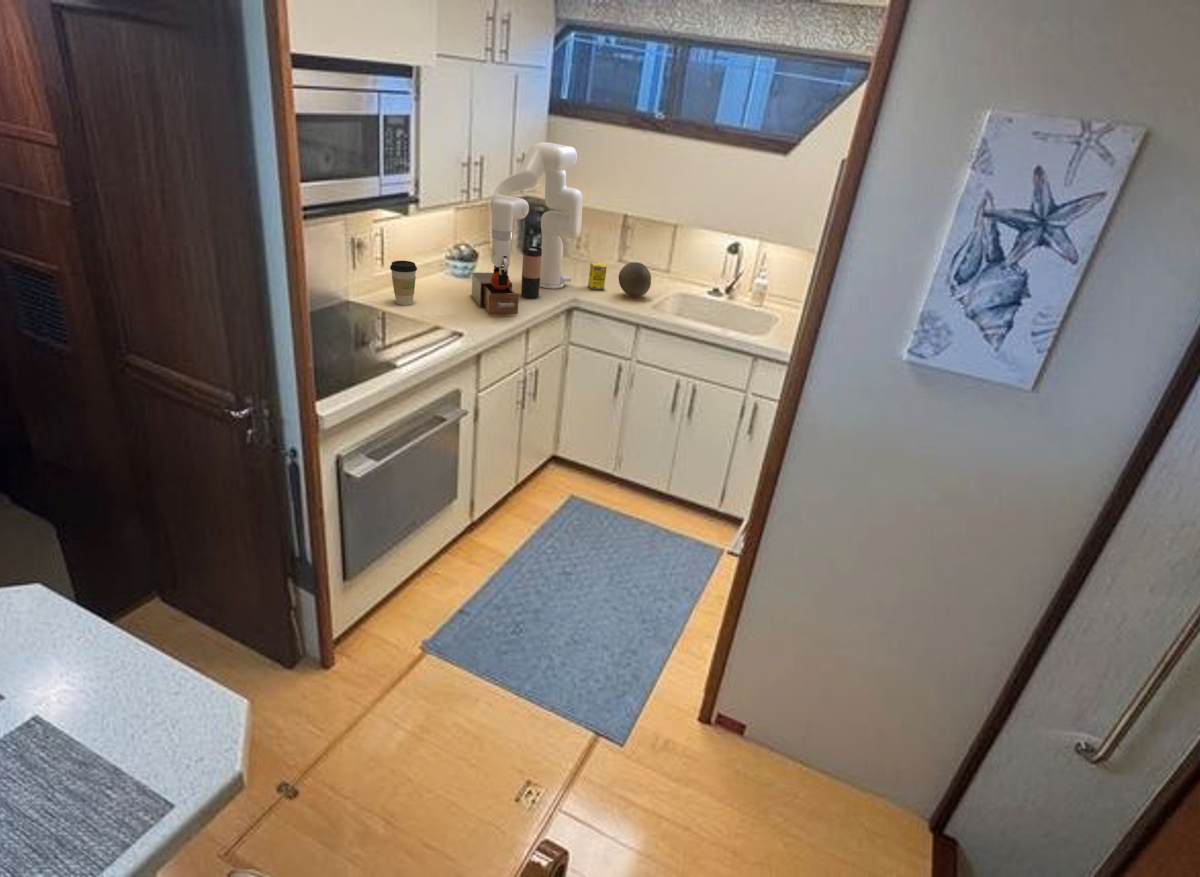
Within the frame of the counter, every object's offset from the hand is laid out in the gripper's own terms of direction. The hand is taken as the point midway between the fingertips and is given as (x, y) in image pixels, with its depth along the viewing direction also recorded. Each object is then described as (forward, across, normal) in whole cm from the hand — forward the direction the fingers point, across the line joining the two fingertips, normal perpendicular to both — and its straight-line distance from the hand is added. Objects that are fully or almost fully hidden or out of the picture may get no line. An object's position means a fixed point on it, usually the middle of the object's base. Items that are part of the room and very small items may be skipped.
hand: (500, 281), depth 263 cm
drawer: (+11, +2, 0) cm, 11 cm away
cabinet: (+12, -12, 0) cm, 17 cm away
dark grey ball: (+12, -16, +65) cm, 68 cm away
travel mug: (+12, -18, +18) cm, 28 cm away
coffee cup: (+12, -12, -34) cm, 38 cm away
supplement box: (+12, -28, +52) cm, 60 cm away
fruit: (+3, 0, 0) cm, 3 cm away
